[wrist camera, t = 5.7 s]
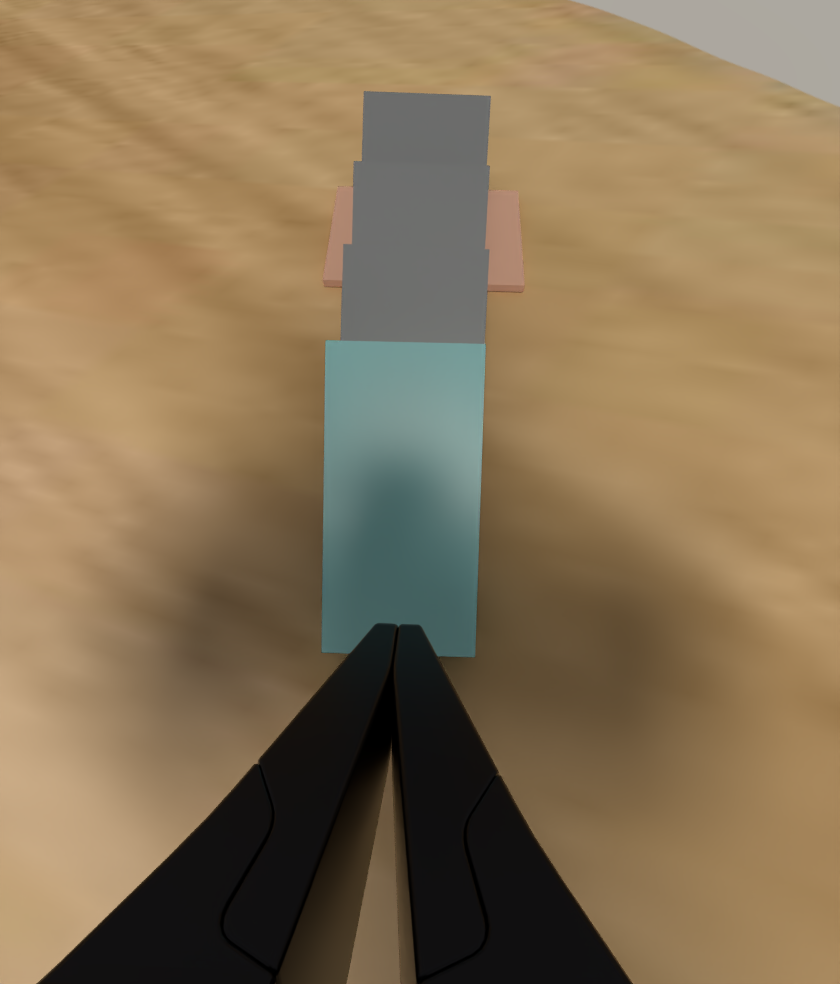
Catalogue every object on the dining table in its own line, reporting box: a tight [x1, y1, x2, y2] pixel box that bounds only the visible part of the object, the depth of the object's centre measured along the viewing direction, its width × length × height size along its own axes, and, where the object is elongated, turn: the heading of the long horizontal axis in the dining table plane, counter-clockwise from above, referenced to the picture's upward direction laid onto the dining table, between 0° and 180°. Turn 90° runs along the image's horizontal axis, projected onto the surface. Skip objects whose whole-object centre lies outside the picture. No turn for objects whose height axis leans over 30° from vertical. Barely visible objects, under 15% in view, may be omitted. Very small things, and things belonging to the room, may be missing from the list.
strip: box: [323, 186, 525, 292], centre depth 24 cm, size 7×10×1 cm
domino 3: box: [341, 244, 490, 344], centre depth 16 cm, size 2×5×10 cm
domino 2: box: [352, 161, 490, 249], centre depth 18 cm, size 2×5×10 cm
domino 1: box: [362, 91, 491, 166], centre depth 19 cm, size 2×5×10 cm
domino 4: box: [322, 340, 486, 657], centre depth 15 cm, size 2×5×10 cm
